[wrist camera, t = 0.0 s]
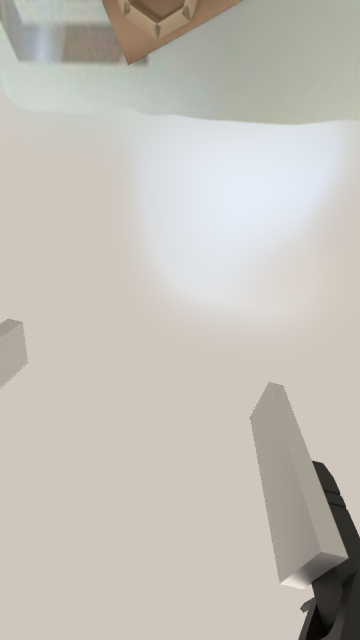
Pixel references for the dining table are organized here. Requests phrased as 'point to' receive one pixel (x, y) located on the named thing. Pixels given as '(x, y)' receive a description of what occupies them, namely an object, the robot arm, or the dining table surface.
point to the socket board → (157, 21)
